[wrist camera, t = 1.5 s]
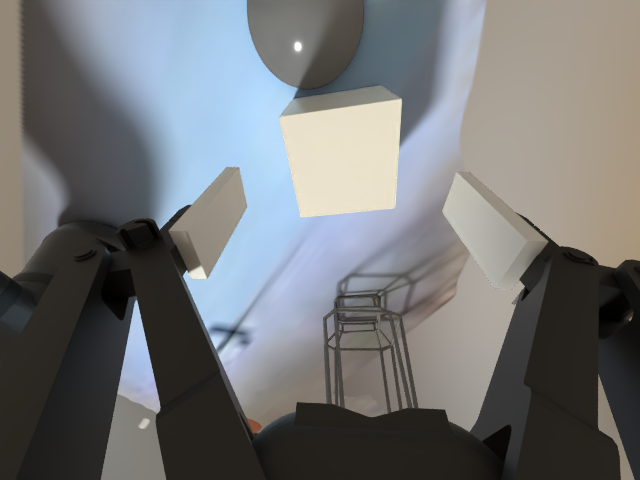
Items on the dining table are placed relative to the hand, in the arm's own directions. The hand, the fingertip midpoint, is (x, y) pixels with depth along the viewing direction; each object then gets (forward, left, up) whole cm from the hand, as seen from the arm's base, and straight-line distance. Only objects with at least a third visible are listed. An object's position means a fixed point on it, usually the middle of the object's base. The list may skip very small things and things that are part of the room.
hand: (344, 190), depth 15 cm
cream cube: (0, -1, -15) cm, 15 cm away
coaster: (-3, +9, -15) cm, 18 cm away
